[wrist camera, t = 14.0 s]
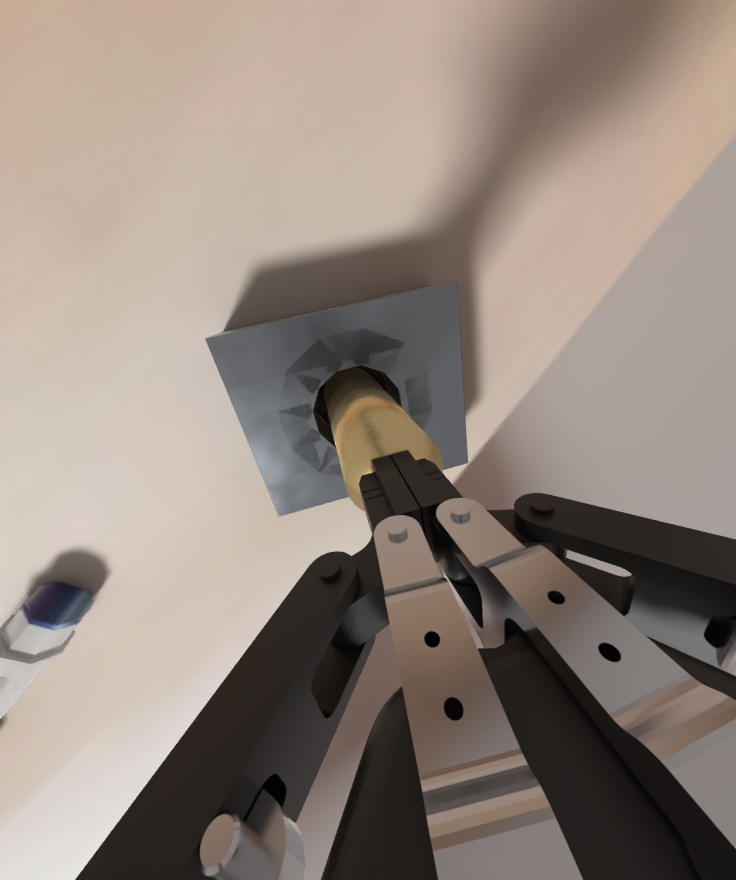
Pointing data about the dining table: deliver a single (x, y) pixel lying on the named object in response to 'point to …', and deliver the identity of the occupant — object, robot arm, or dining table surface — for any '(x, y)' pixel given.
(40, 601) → the white electric toothbrush
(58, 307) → the dining table surface
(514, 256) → the dining table surface
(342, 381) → the brass plug
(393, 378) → the plate
